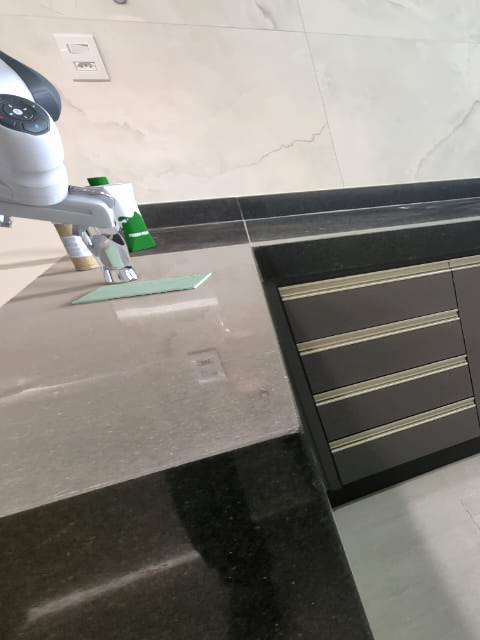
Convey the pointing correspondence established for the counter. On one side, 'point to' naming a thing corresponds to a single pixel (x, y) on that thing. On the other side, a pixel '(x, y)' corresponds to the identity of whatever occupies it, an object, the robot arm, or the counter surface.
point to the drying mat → (143, 288)
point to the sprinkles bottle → (75, 248)
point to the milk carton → (125, 213)
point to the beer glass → (111, 253)
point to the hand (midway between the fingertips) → (43, 229)
